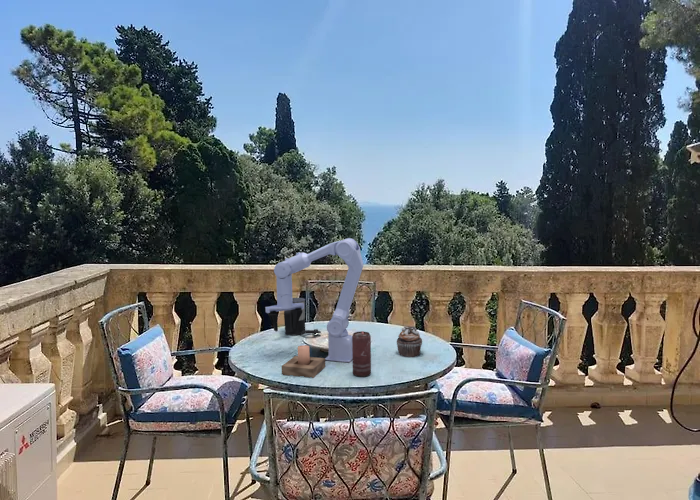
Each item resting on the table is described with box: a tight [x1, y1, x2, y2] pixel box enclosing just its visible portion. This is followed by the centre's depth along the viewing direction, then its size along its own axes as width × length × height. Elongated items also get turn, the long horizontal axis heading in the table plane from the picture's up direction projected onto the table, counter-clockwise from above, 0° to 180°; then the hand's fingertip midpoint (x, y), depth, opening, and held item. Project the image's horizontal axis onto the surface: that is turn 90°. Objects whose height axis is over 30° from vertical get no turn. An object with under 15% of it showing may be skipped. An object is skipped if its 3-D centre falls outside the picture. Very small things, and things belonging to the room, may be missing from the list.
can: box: [352, 330, 372, 378], centre depth 174 cm, size 6×6×14 cm
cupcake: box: [396, 326, 423, 358], centre depth 195 cm, size 10×10×10 cm
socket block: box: [281, 355, 326, 379], centre depth 178 cm, size 11×11×3 cm
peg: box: [297, 344, 311, 365], centre depth 178 cm, size 4×4×8 cm
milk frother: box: [283, 297, 322, 336], centre depth 224 cm, size 14×16×15 cm
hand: (285, 329), depth 195 cm, fingers open, 7 cm apart
